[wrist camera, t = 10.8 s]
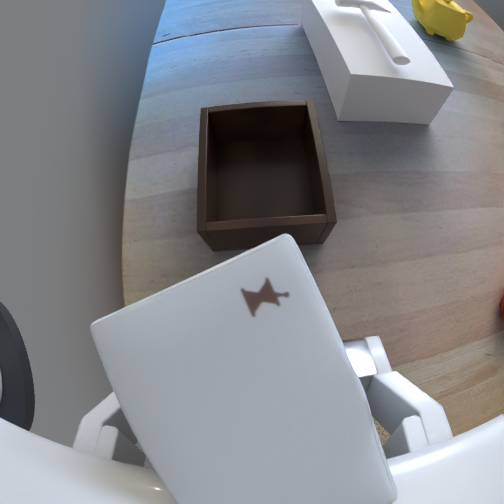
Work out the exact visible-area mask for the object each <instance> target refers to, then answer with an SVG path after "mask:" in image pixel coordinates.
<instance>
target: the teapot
mask: <svg viewBox="0 0 504 504" xmlns="http://www.w3.org/2000/svg"><path fill="white" fill-rule="evenodd" d="M412 7H413V13H414V15H415V17H416V18H417V20H418V21H419V22H420V23H421V25H422V26H423V27H425V28H426V32H427V33H428V34H430V35H434V34H435V33H436V34H438V35H441V36H443V37H445V38H446V39H447V40H449V41H452V39H454V40H457V39H460V38H462V37H463V35H464V32H465V28H466V23H468V22H470V21H471V20H472V19H473V15H472V14H471V13H470V12H468V11H465V10H462V9H461V7H460V6H459V5H458V4H456V3H455V2H454V1H453V0H412Z"/></svg>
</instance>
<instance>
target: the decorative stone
mask: <svg viewBox="0 0 504 504" xmlns="http://www.w3.org/2000/svg"><path fill="white" fill-rule="evenodd" d="M500 307H501V315H502V318H503V319H504V295H503V298H502V300H501V303H500Z"/></svg>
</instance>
